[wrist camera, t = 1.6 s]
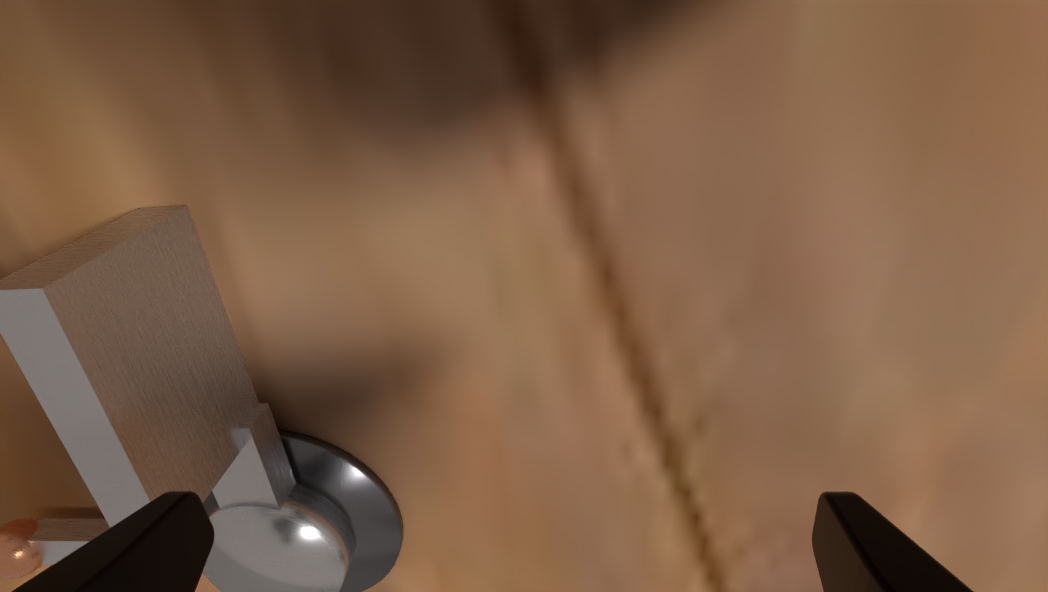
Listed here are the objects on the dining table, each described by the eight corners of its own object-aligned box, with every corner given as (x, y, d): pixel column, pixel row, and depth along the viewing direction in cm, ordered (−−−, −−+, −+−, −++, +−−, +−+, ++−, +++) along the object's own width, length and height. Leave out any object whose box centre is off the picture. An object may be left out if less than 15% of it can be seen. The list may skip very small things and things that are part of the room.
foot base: (379, 427, 20) (375, 435, 19) (420, 591, 23) (418, 600, 23) (152, 430, 21) (145, 438, 20) (226, 587, 24) (221, 596, 24)
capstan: (256, 198, 16) (128, 284, 11) (371, 575, 22) (318, 722, 18) (-181, 226, 17) (-442, 310, 13) (47, 570, 24) (-75, 704, 20)
